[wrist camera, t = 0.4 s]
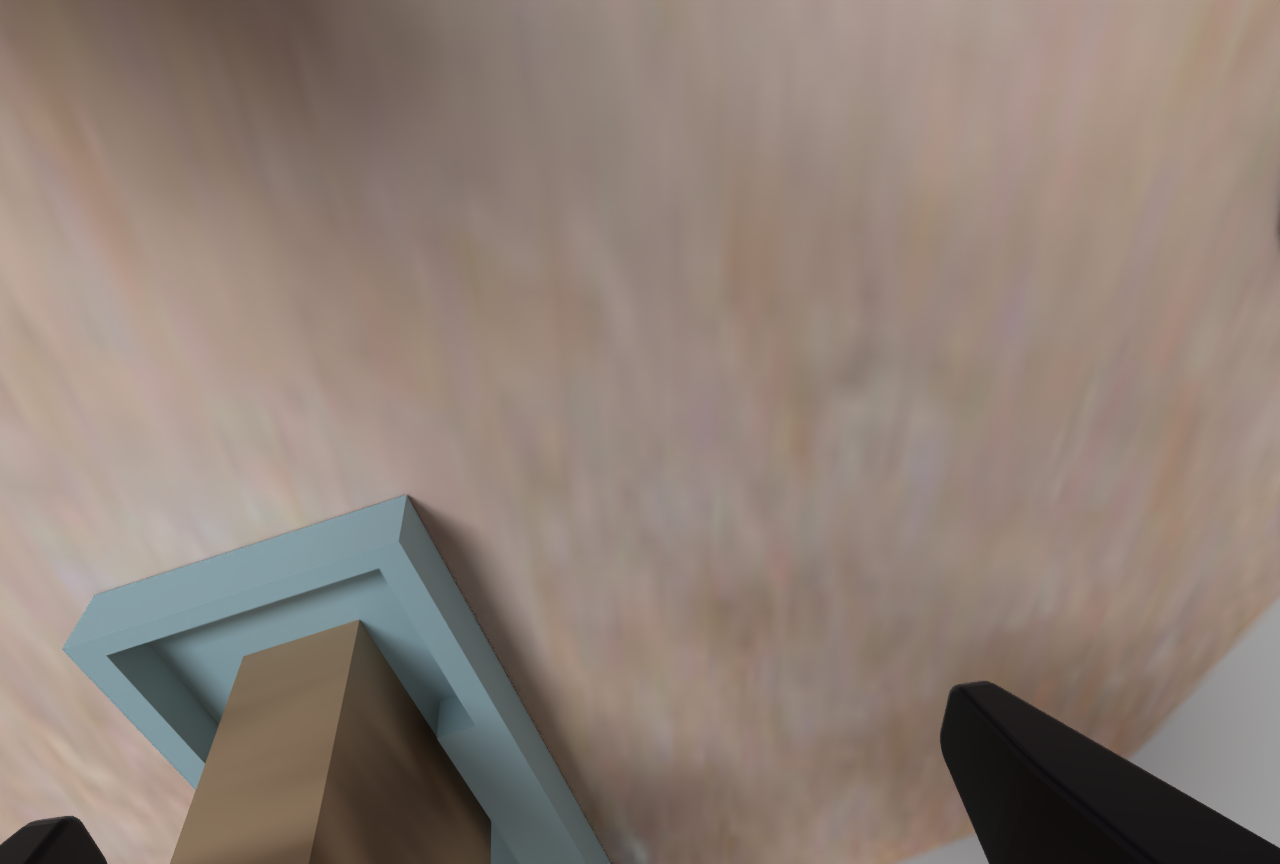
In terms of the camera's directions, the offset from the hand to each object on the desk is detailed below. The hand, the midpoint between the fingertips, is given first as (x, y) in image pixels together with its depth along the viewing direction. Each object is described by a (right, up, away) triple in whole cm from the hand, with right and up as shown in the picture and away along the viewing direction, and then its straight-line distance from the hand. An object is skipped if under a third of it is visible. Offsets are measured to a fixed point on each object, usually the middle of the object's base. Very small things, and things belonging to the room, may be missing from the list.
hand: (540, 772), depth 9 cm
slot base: (-7, -8, +20) cm, 22 cm away
